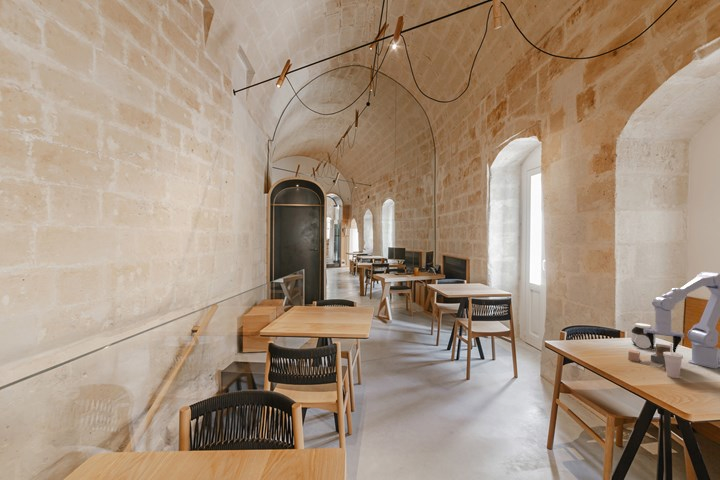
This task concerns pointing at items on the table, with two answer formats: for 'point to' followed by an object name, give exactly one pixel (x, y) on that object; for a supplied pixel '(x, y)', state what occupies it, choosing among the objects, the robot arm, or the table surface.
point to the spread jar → (641, 335)
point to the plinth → (657, 359)
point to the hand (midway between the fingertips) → (663, 350)
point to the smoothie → (672, 363)
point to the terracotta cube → (634, 355)
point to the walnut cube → (662, 349)
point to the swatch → (652, 363)
